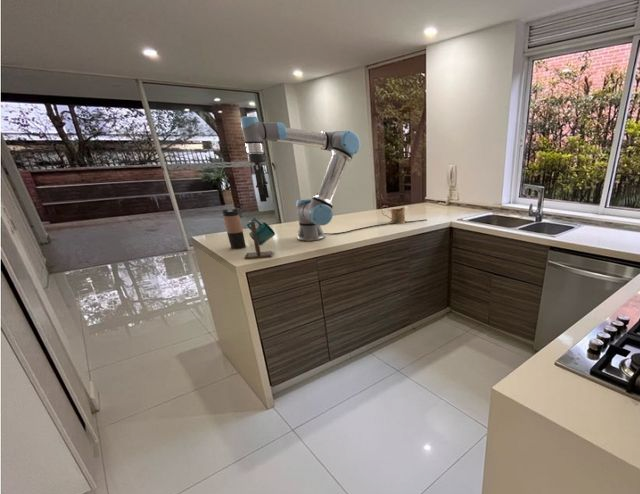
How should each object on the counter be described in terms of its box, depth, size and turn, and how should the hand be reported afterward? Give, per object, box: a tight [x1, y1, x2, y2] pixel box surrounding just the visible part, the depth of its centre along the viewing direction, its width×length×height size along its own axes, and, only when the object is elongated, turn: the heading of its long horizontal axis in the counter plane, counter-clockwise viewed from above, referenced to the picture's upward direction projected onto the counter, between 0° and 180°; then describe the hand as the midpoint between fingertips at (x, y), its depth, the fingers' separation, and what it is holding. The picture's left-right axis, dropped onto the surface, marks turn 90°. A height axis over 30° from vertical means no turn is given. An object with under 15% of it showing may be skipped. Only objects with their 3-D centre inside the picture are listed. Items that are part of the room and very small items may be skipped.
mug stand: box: [244, 221, 274, 260], centre depth 171 cm, size 12×14×18 cm
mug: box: [380, 205, 407, 225], centre depth 246 cm, size 12×18×12 cm, turn 96°
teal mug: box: [245, 217, 276, 246], centre depth 172 cm, size 12×8×9 cm
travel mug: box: [222, 208, 246, 250], centre depth 183 cm, size 8×8×20 cm
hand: (265, 199), depth 169 cm, fingers open, 13 cm apart
